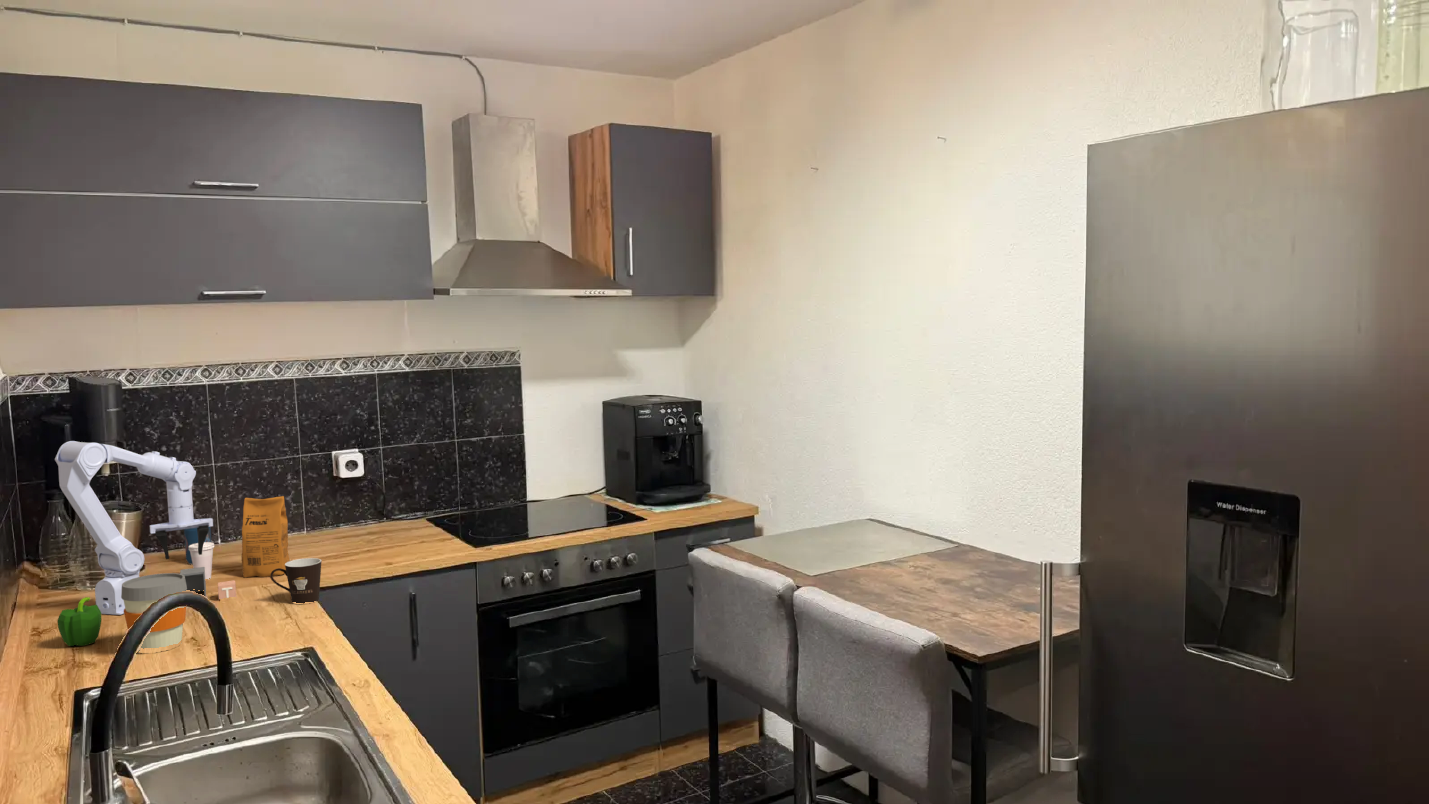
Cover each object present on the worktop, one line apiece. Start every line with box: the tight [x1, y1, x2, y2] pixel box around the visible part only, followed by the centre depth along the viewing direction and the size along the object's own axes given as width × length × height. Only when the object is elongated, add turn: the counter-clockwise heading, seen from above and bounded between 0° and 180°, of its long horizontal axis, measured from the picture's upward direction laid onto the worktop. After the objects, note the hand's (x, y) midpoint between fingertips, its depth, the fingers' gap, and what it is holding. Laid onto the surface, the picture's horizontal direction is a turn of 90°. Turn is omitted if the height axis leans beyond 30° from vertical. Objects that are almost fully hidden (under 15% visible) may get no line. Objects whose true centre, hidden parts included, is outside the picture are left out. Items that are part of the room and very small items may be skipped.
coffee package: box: [241, 495, 291, 579], centre depth 269 cm, size 10×12×22 cm
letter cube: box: [217, 580, 237, 600], centre depth 246 cm, size 4×4×4 cm
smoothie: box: [188, 541, 215, 580], centre depth 265 cm, size 6×6×14 cm
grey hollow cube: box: [179, 567, 207, 597], centre depth 250 cm, size 6×6×6 cm
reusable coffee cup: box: [121, 572, 187, 652], centre depth 210 cm, size 13×13×15 cm
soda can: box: [183, 526, 212, 565], centre depth 284 cm, size 7×7×12 cm
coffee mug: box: [270, 557, 322, 603], centre depth 243 cm, size 12×9×10 cm
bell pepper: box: [57, 596, 102, 647], centre depth 213 cm, size 8×8×10 cm
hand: (183, 556), depth 253 cm, fingers open, 7 cm apart
